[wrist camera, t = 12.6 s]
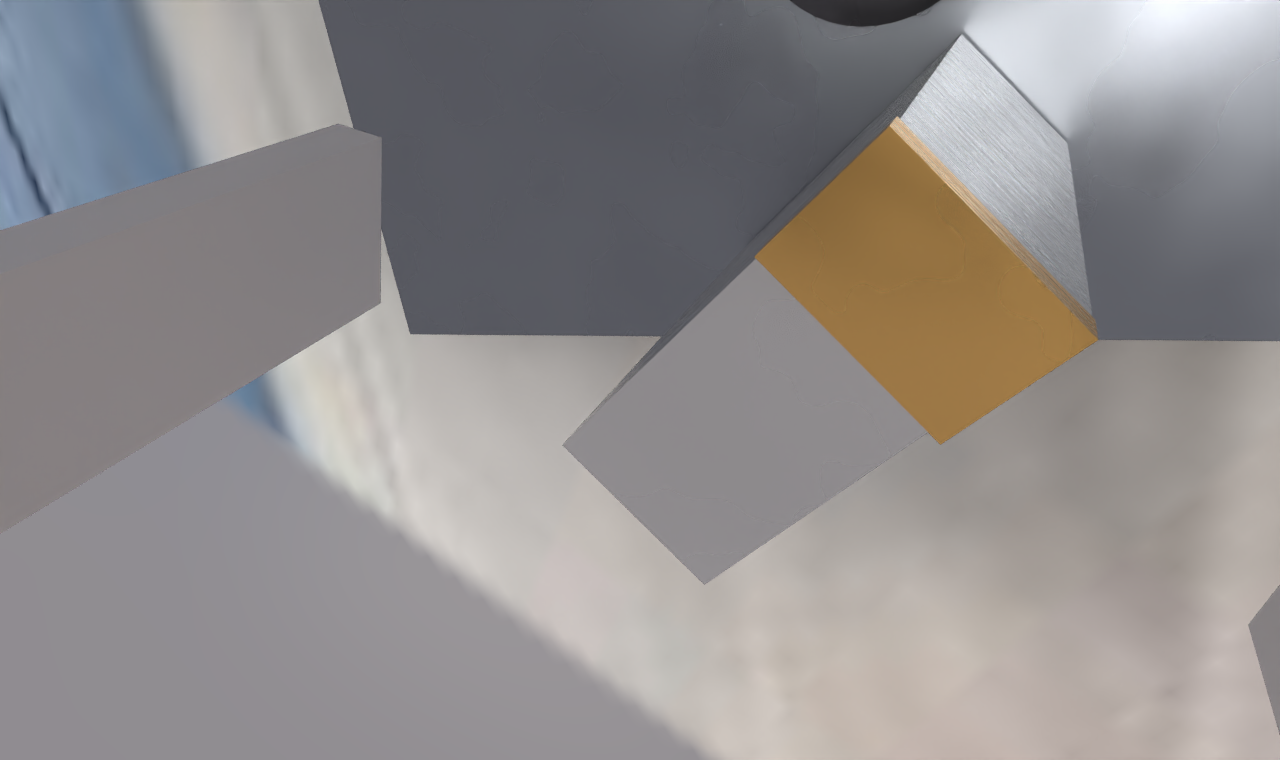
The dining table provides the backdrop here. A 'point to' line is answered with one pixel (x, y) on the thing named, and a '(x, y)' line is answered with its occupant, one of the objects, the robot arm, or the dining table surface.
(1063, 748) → the dining table surface
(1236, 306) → the board
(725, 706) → the dining table surface
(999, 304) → the banded metal block
